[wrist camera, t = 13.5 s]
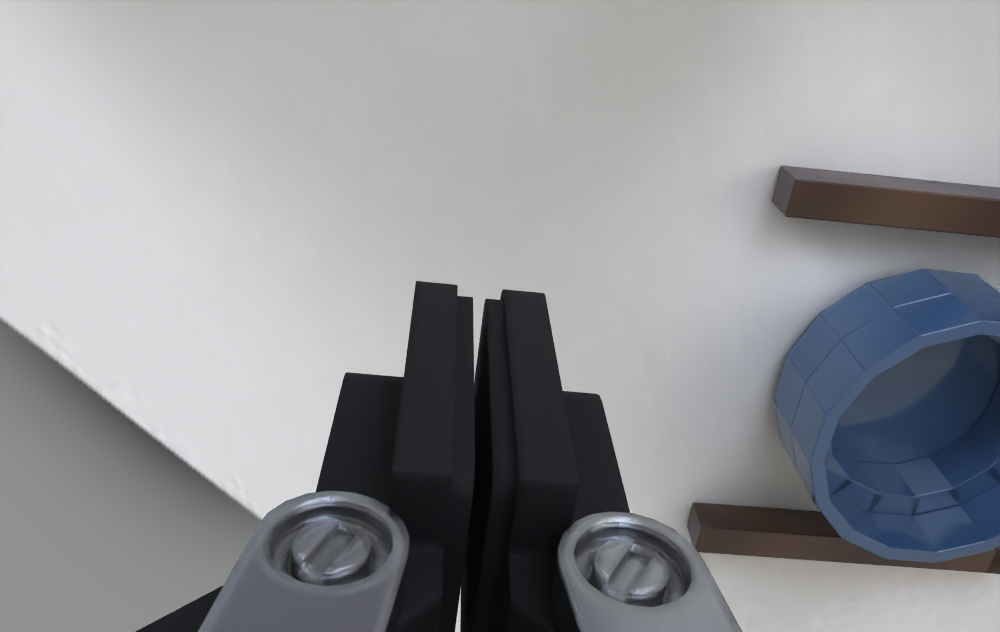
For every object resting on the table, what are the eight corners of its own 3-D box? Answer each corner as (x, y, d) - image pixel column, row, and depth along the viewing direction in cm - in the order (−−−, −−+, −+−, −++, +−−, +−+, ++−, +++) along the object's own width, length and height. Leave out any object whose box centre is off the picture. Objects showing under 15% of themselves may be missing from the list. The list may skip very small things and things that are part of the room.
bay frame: (686, 526, 42) (694, 552, 40) (780, 164, 34) (795, 179, 32) (994, 549, 42) (1014, 575, 41) (1157, 203, 35) (1190, 219, 33)
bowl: (745, 473, 40) (779, 551, 36) (811, 252, 35) (861, 308, 31) (974, 493, 41) (1038, 571, 36) (1071, 279, 36) (1159, 338, 31)
